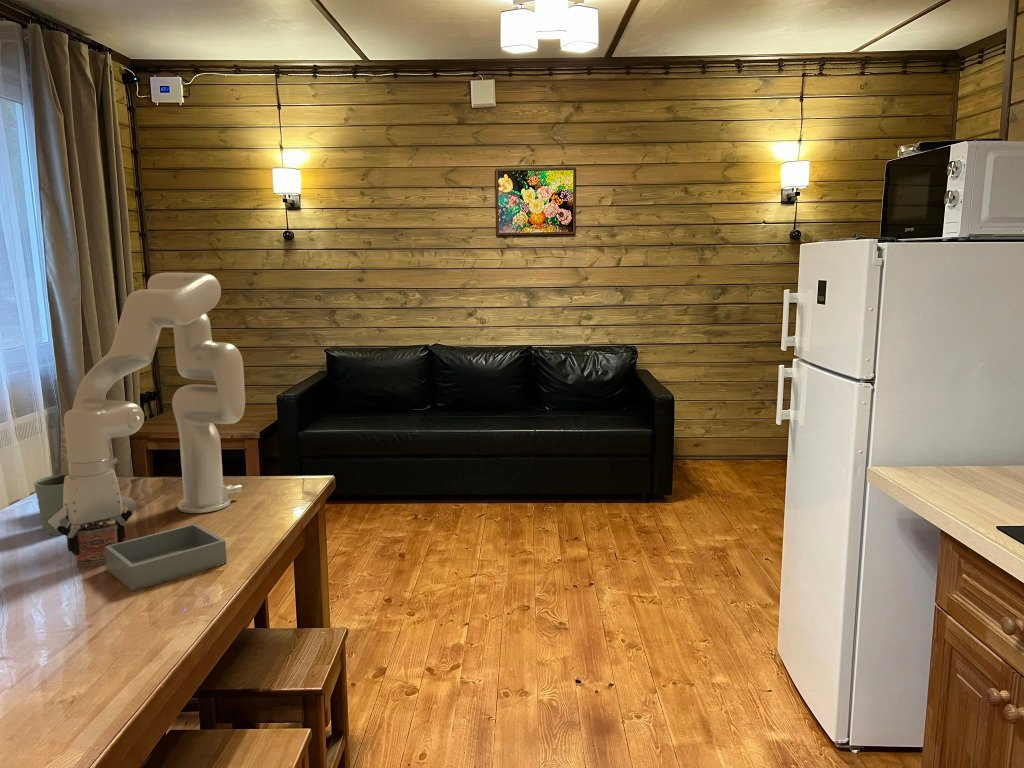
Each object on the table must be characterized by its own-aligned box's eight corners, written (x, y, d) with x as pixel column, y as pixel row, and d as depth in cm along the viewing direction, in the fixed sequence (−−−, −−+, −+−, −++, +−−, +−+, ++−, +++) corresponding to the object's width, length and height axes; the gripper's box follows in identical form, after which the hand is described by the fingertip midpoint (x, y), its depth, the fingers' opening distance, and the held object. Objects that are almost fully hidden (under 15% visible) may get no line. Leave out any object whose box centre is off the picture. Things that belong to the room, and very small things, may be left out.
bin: (196, 544, 166) (195, 523, 165) (226, 563, 156) (225, 540, 155) (106, 569, 152) (104, 546, 152) (133, 591, 142) (131, 567, 142)
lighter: (76, 568, 153) (71, 521, 152) (77, 562, 156) (72, 516, 154) (120, 560, 157) (116, 515, 155) (120, 555, 160) (116, 510, 158)
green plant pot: (39, 538, 169) (33, 488, 167) (39, 525, 177) (34, 477, 175) (90, 530, 174) (85, 481, 172) (88, 517, 183) (83, 470, 181)
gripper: (128, 456, 162) (134, 532, 165) (36, 472, 149) (45, 554, 152) (141, 462, 157) (147, 541, 160) (47, 480, 144) (56, 565, 147)
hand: (97, 547), depth 156 cm, fingers closed on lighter, 7 cm apart
